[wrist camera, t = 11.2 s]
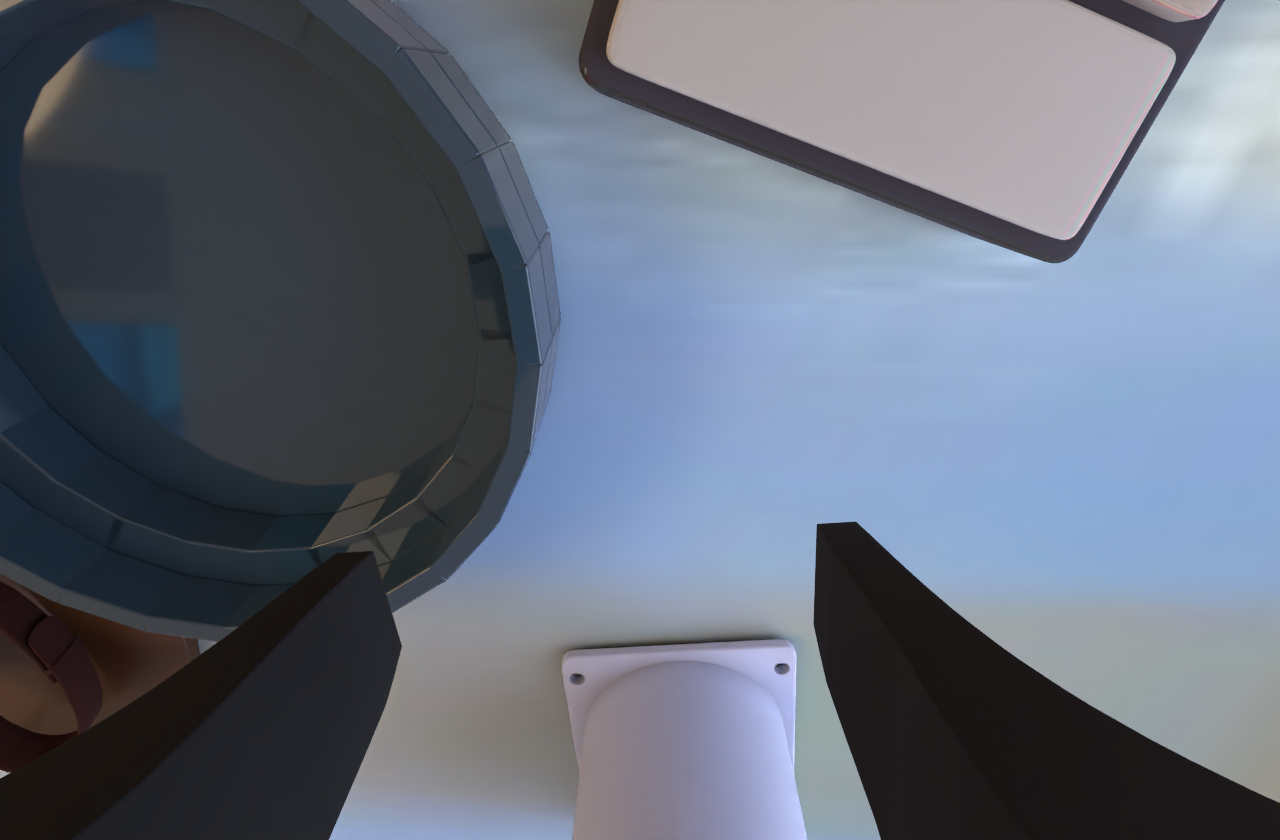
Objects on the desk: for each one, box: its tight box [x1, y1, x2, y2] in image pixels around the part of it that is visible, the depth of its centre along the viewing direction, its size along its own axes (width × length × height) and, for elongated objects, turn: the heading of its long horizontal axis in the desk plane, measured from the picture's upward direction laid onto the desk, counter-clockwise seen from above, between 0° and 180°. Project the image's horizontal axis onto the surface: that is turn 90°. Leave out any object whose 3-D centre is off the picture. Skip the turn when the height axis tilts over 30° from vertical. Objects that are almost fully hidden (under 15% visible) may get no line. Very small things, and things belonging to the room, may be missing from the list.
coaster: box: [0, 574, 200, 735], centre depth 24 cm, size 11×11×1 cm
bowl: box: [0, 0, 561, 642], centre depth 17 cm, size 17×17×4 cm
